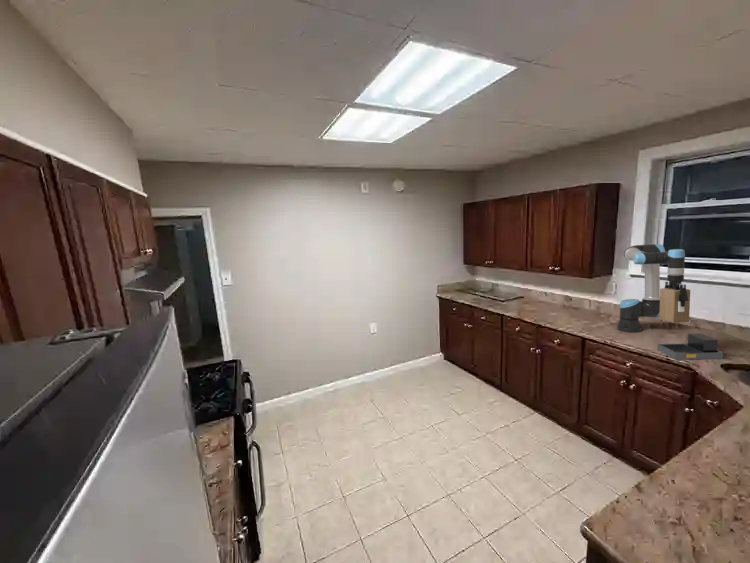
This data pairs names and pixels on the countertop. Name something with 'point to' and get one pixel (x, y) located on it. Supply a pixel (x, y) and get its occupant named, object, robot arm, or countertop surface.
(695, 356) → the rack
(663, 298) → the wooden block
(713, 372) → the countertop surface
